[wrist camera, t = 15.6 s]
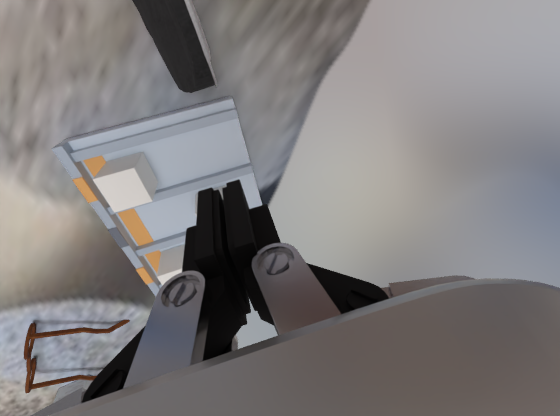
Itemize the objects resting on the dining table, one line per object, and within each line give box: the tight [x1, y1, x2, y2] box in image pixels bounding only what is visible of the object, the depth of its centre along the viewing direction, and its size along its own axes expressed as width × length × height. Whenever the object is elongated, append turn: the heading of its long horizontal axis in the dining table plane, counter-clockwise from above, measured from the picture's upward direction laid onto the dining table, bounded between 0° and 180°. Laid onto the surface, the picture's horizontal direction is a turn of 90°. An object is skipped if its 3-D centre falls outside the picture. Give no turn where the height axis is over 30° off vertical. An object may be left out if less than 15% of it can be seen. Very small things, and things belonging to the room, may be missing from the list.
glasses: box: [24, 320, 129, 393], centre depth 43 cm, size 13×13×5 cm
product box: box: [53, 375, 93, 403], centre depth 48 cm, size 6×6×7 cm
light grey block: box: [92, 152, 158, 213], centre depth 29 cm, size 4×4×5 cm
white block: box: [157, 244, 185, 286], centre depth 37 cm, size 4×4×5 cm
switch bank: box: [52, 96, 262, 296], centre depth 36 cm, size 19×24×4 cm
